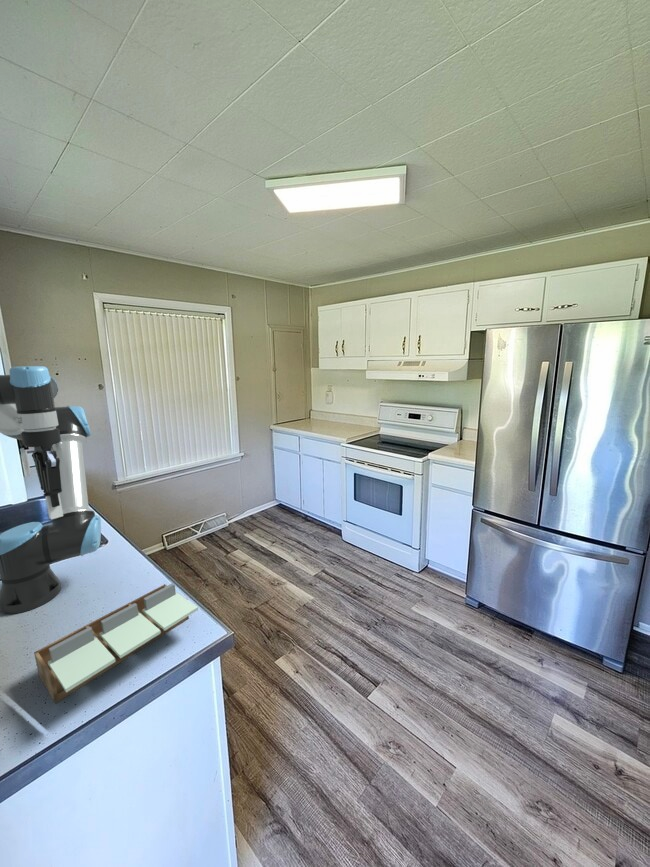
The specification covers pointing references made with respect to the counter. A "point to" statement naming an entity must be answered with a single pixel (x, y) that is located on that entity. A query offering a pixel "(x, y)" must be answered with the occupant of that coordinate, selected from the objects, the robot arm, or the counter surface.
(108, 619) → the lid
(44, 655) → the box
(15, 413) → the robot arm
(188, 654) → the counter surface
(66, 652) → the lid
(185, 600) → the lid
